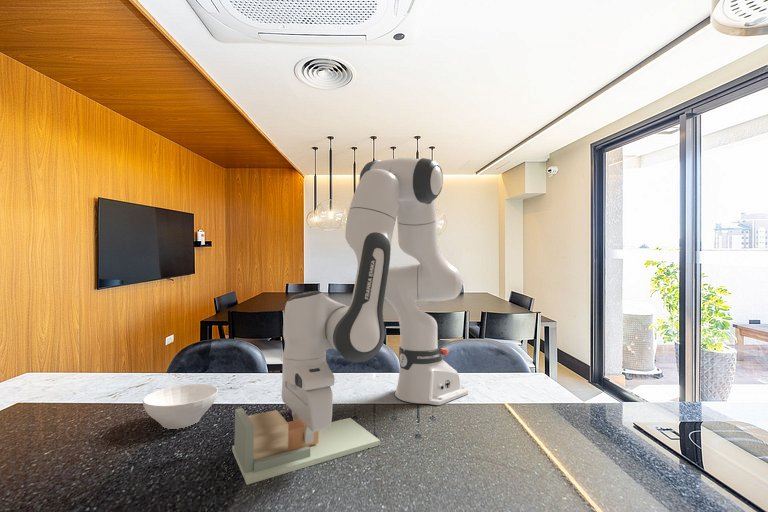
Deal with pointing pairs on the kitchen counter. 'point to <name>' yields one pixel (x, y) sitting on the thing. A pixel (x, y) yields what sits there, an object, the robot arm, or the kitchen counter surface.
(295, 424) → the rectangular bar
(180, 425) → the bowl
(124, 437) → the kitchen counter surface
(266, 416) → the block
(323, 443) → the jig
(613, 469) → the kitchen counter surface
